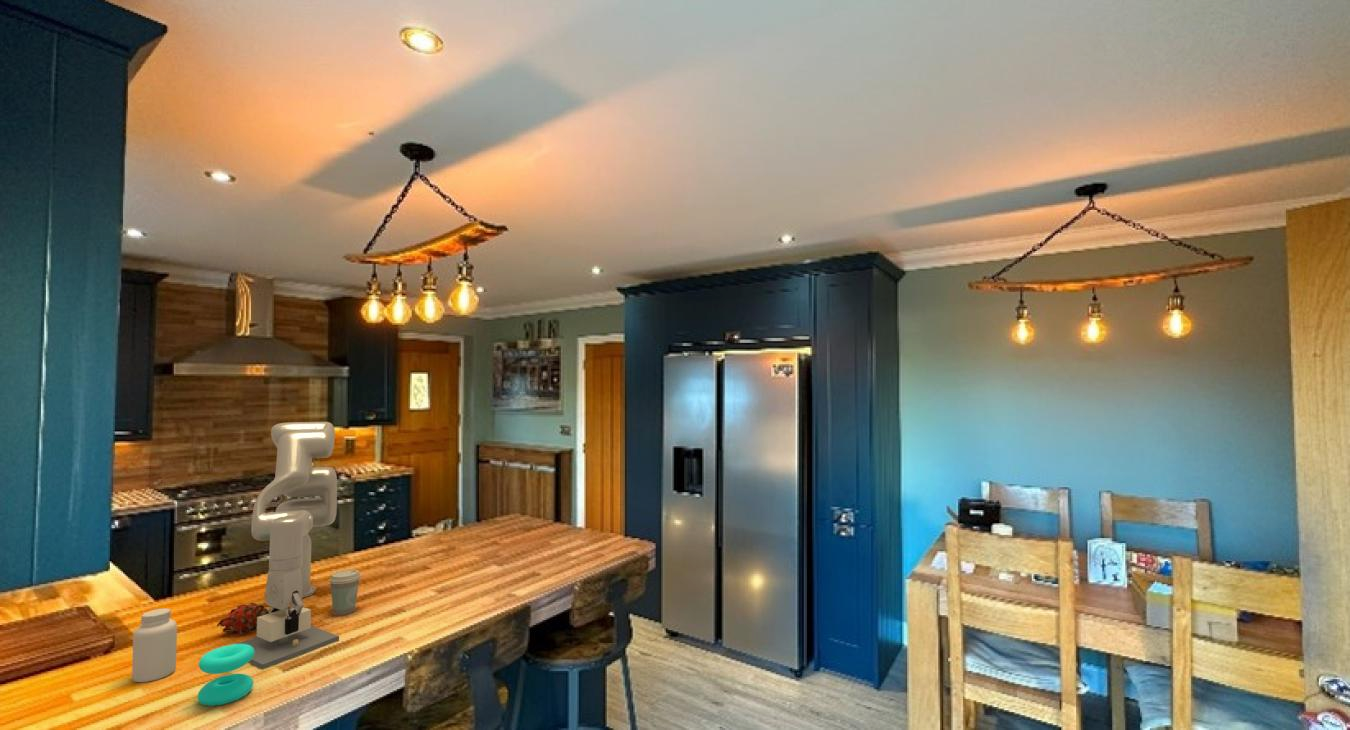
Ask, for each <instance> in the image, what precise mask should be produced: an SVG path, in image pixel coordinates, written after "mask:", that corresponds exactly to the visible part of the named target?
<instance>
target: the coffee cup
mask: <svg viewBox="0 0 1350 730" xmlns="http://www.w3.org/2000/svg"><path fill="white" fill-rule="evenodd" d="M360 580H361V574H360V571H359V570H357V569H353V568H352V569H351V568H350V569H342V570H338V571H335V572H333V573H332V574H331V575H330V577H329V581H328V582H329V584H330V594H331V604H332V613H333V615H334V616H339V617H340V616H347V615H351V614H352V613H354V612H355V610H356V606H357V605H356V604H357V598H358V591H359V585H360Z"/></svg>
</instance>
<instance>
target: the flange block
mask: <svg viewBox="0 0 1350 730" xmlns="http://www.w3.org/2000/svg"><path fill="white" fill-rule="evenodd" d="M293 610H294V608H292V609H290V613H291V612H292V611H293ZM311 615H312V610H311V609H310V608H307V607H305V606H303V608H302V610H301V613H300V616H299V630H298V631H296V632H294V633H291V634H288V635H286V634H285V619H287V616H286V612H285V610H279V611H276V612H272V613H270V612H269V614H266V615H263V616H259V617H257V627H256V628H257V629H256V637H260V638H262V639H264V640H267V641H269V642H272V641H275V640H278V639H281V638H284V637H287V636H290V635H292V634H295V633H298V632H301V631H304V630H307V629H310V626H312V625H311V621H312V620H311V619H312V617H311Z"/></svg>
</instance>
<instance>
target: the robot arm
mask: <svg viewBox="0 0 1350 730" xmlns="http://www.w3.org/2000/svg"><path fill="white" fill-rule="evenodd" d="M335 432H336V431H335V427H334V425H333V423H331V422H329V421H292V422H291V421H290V422H289V421H288V422H281V423H276V424H275V425H273V426H272V428H271V430H270V435H271V440H272V442H273V444H274V445H275V447H276V449H277V451H276V464H275V475H274V476H275V477H274V478H273V480H272V481H270V483H268V484H267V485H266V486H265V487H264V488H263V489H262V491H260V493H259V494H258V496H257V498H256V499H255V501H254V505H253V510H252V515H251V516H252V517H251V528H250V530H251V531H250V532H251V536H252V537H253V539H254V540H256V541H258V542H260V541H261V542H264V541H269V552H268V553H269V558H268V559H269V560H268V561H269V563H268V573H267V577H266V584H265V596H264V597H265V598H264V602H265V604H266V605H267V606H269V609H268V612H269V613H272V612H276V611H279V610H285V612H286V616H287V619H285V634H286V635H288V634H291V633H294V632H296V631H298V630H299V616H300V613H301V610H302V608H303V607H304V603H303V602H302V601H303V599H305V598H307V597H310V596H312V595H314V594H315V593H316V587H315V586H314V585H311V568H312V566H311V565H312V538H311V537H310V535H309V532H310V531H312V529H313V528H315V527H316V528H317V527H325V526H330V525H332V524H333V523H334V522H335V520H336V517H337V510H338V508H337V507H338V506H337V505H338V504H337V503H338V499H337V498H338V479H337V478H338V477H337V472H336V471H335V469H334V468H333V467H329V466H321V467H320V466H319V467H313V459H320V458H329V457H330V456H332V454H333V451H334V448H335V440H336V439H335V438H336V437H335V435H336V433H335ZM282 495H283V496H284V497H287V498H299V499H291V500H286V501H283V502H282V503H280V504H278V506H277V507H276V509H275V511H271V512H266V509H267V506H268V505H269V504H270V503H271V502H272V501H274V500H275V498H278V497H280V496H282ZM317 496H319V497H317ZM304 497H316V498H304ZM300 498H302V499H300ZM292 608H294V610H293V611H292V612H291V613H290V609H292Z"/></svg>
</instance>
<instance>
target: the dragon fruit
mask: <svg viewBox="0 0 1350 730" xmlns="http://www.w3.org/2000/svg"><path fill="white" fill-rule="evenodd" d="M269 613H270V612H269V609H267V608H266V607H265V606H264V605H262V604H257V603H255V602H249V604H239V605H237V606H236V608H233V609H231V610H230V612H229V613H228V614H227V615H225V616H224V618H221V619H220V620H219V622H218V623H217V625H216V627H217V628H218V627H219V626H221V627H224V628H223V629H222V632H223V633H226V634H230V633H231V634H233V633H234V634H240V635H241V636H243V635H245V634H246V633H247V632H248V631H249V632H250V633H252V632H255V631H257V617H259V616H263V615H266V614H269Z"/></svg>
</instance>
